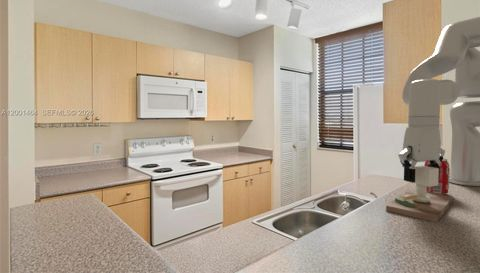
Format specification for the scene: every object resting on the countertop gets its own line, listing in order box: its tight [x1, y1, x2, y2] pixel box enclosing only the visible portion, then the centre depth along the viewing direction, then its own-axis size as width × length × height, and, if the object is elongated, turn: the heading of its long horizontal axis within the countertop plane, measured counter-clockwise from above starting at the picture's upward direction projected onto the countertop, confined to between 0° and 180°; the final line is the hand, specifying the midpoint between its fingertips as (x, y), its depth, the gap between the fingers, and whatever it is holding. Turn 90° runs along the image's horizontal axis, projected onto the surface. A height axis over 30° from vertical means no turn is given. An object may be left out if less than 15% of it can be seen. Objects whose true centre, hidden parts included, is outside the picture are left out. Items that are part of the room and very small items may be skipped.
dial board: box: [385, 189, 454, 223], centre depth 80 cm, size 22×12×2 cm, turn 133°
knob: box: [403, 163, 439, 203], centre depth 79 cm, size 9×7×10 cm
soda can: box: [423, 157, 450, 196], centre depth 92 cm, size 7×7×12 cm
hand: (421, 179), depth 79 cm, fingers open, 9 cm apart
